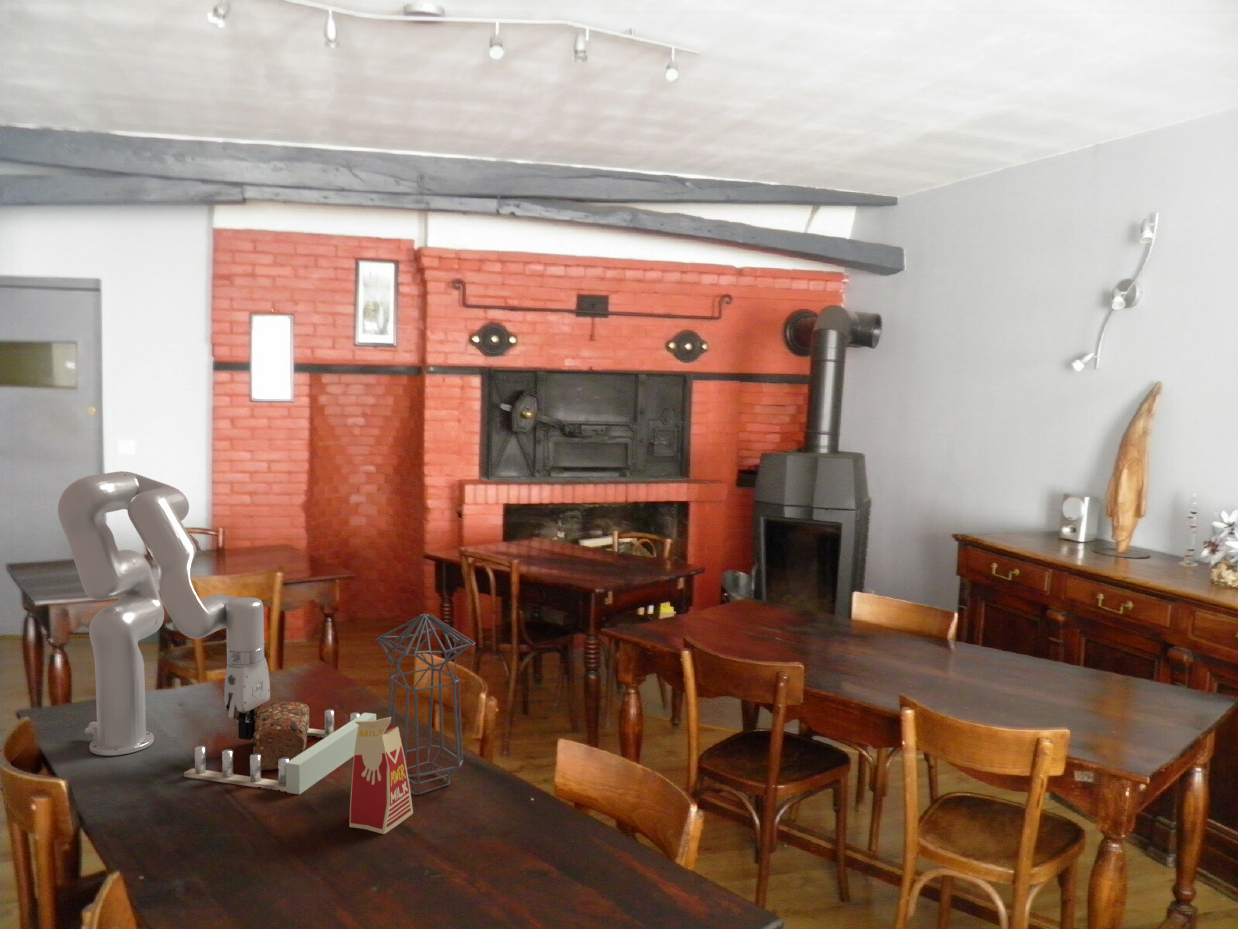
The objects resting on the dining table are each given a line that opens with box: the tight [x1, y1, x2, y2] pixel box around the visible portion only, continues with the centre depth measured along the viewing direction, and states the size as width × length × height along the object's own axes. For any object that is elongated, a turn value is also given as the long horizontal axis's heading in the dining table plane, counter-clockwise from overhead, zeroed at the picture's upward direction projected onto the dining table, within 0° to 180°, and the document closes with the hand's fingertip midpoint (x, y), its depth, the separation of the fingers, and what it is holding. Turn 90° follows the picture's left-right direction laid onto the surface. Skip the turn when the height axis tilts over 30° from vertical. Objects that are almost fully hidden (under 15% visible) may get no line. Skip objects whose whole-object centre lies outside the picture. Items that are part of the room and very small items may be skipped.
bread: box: [252, 701, 310, 771], centre depth 207 cm, size 19×11×10 cm, turn 15°
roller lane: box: [183, 706, 377, 795], centre depth 205 cm, size 27×30×6 cm
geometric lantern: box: [374, 613, 476, 796], centre depth 192 cm, size 16×16×35 cm
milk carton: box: [348, 716, 414, 835], centre depth 176 cm, size 9×9×20 cm
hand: (247, 738), depth 207 cm, fingers closed
